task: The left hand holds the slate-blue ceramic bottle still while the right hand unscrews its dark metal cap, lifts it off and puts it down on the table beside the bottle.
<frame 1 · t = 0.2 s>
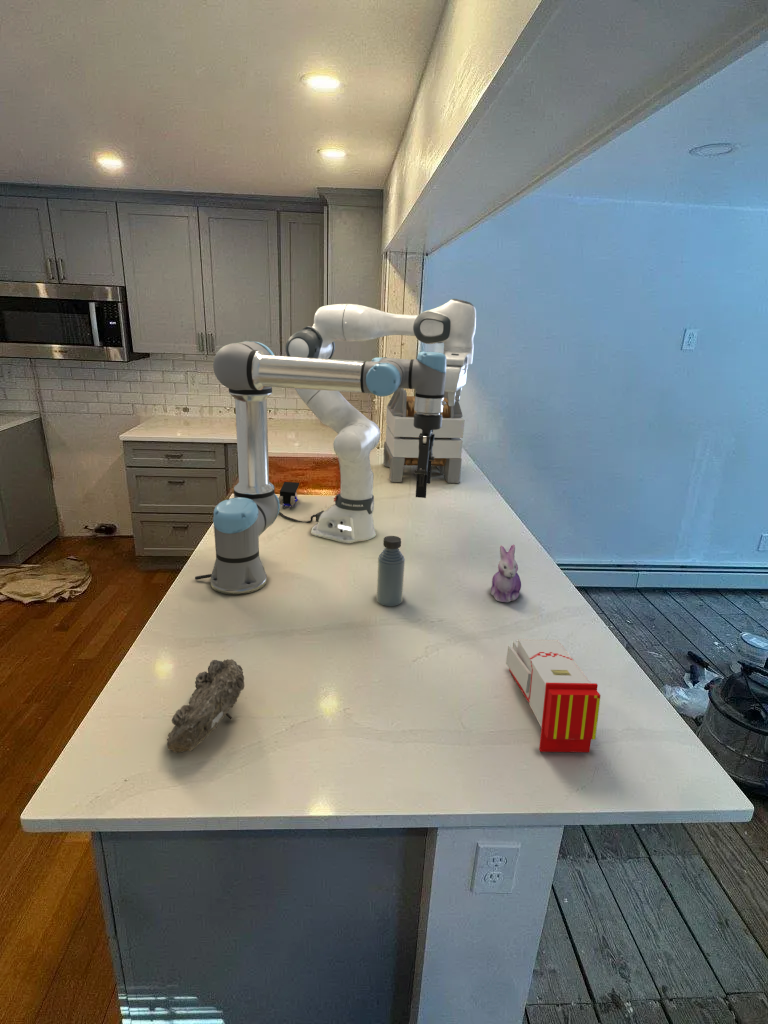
left hand: (423, 489, 157), 28 cm above the counter, tool pointing down, fingers open, 13 cm apart
right hand: (454, 403, 174), 48 cm above the counter, tool pointing down, fingers open, 8 cm apart
cap: (392, 540, 149), point 18 cm above the counter, screwed on, not yet turned
figurine character: (289, 504, 224), on the counter
toy: (542, 703, 116), on the counter
bottle: (389, 599, 155), on the counter
figurine: (505, 595, 160), on the counter
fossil: (212, 717, 108), on the counter
transformer: (419, 473, 275), on the counter
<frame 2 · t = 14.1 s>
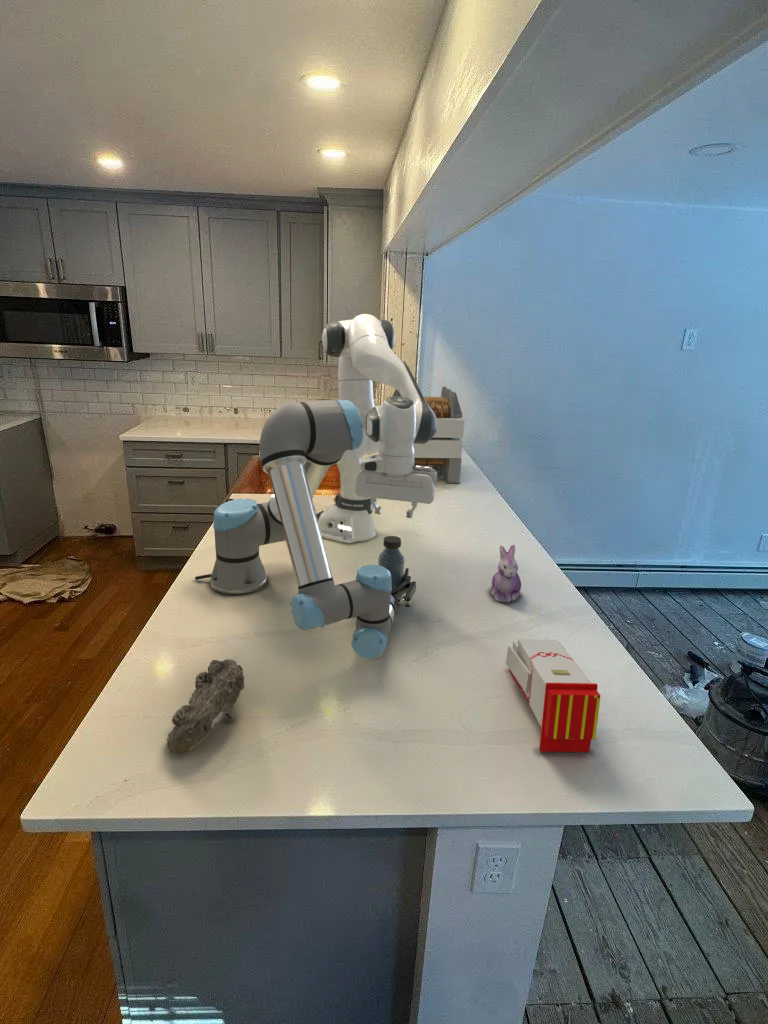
left hand: (392, 571, 157), 6 cm above the counter, tool horizontal, fingers closed on bottle, 7 cm apart
right hand: (393, 515, 146), 24 cm above the counter, tool pointing down, fingers open, 7 cm apart
bottle: (389, 599, 155), on the counter, touching left hand
everything else where it was.
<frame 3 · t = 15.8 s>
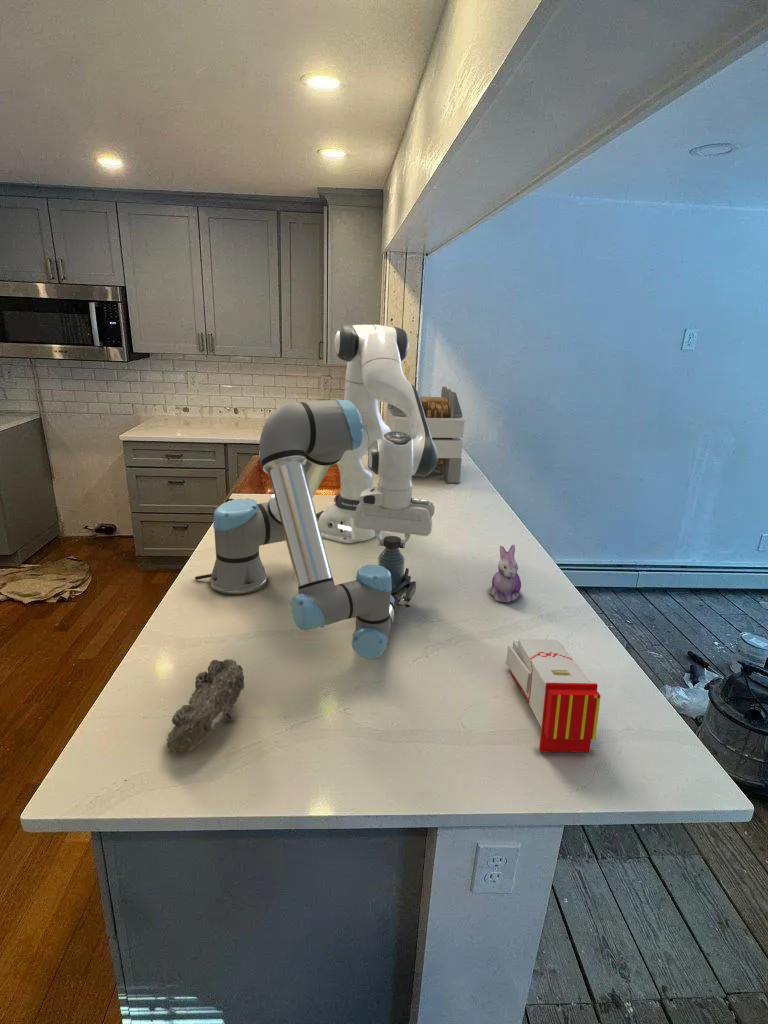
left hand: (392, 571, 157), 6 cm above the counter, tool horizontal, fingers closed on bottle, 7 cm apart
right hand: (392, 546, 149), 16 cm above the counter, tool pointing down, fingers closed on cap, 4 cm apart
cap: (392, 540, 149), point 18 cm above the counter, screwed on, not yet turned, touching right hand
bottle: (389, 599, 155), on the counter, touching left hand
everything else where it was.
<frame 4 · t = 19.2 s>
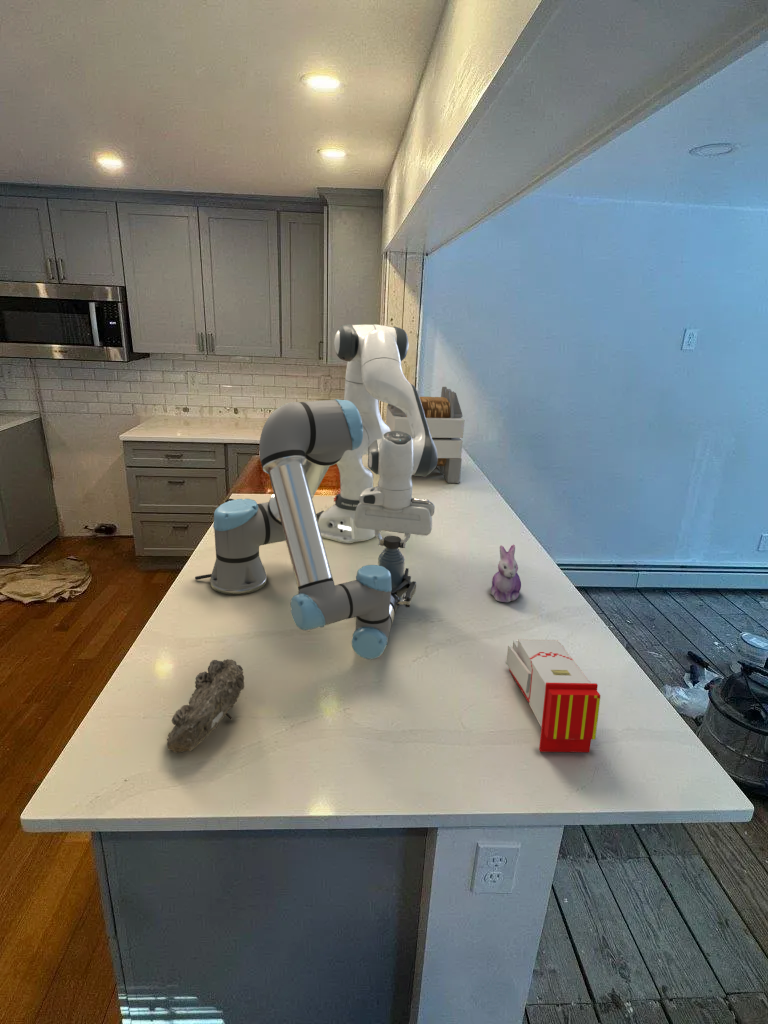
left hand: (392, 571, 157), 6 cm above the counter, tool horizontal, fingers closed on bottle, 7 cm apart
right hand: (391, 546, 149), 16 cm above the counter, tool pointing down, fingers closed on cap, 4 cm apart
cap: (392, 539, 149), point 18 cm above the counter, turned 83° so far, risen 0.1 cm, still on its thread, touching right hand
bottle: (389, 599, 155), on the counter, touching left hand
everything else where it was.
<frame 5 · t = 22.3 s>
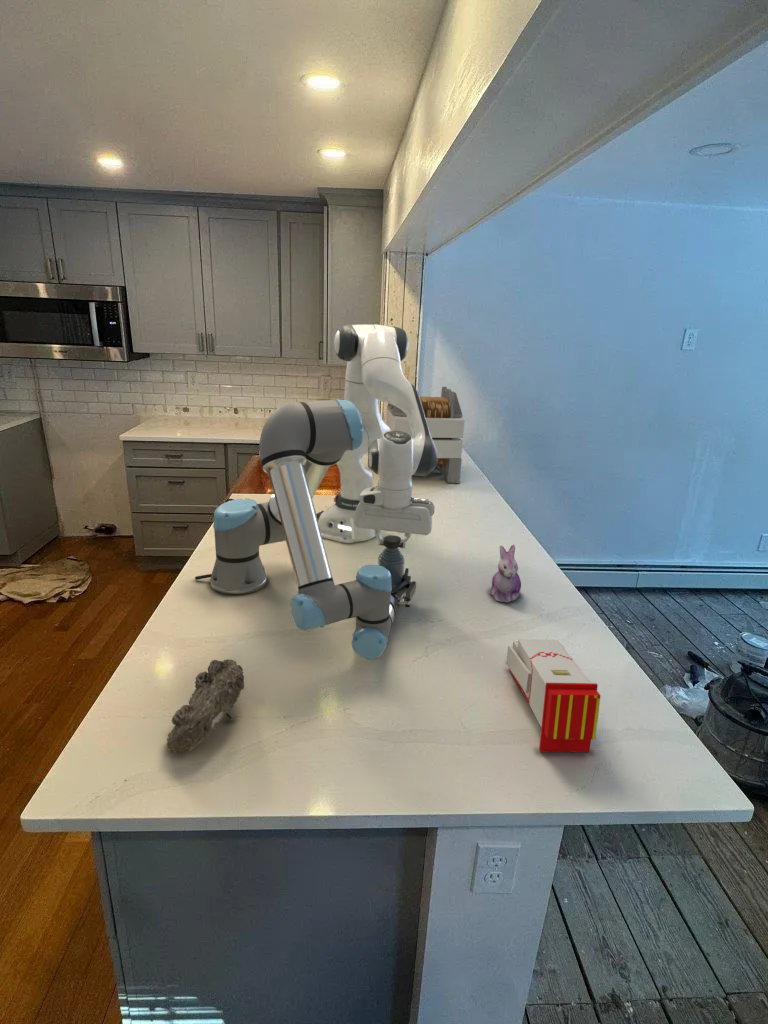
left hand: (392, 571, 157), 6 cm above the counter, tool horizontal, fingers closed on bottle, 7 cm apart
right hand: (391, 545, 149), 16 cm above the counter, tool pointing down, fingers closed on cap, 4 cm apart
cap: (392, 539, 149), point 18 cm above the counter, turned 166° so far, risen 0.1 cm, still on its thread, touching right hand
bottle: (389, 599, 155), on the counter, touching left hand
everything else where it was.
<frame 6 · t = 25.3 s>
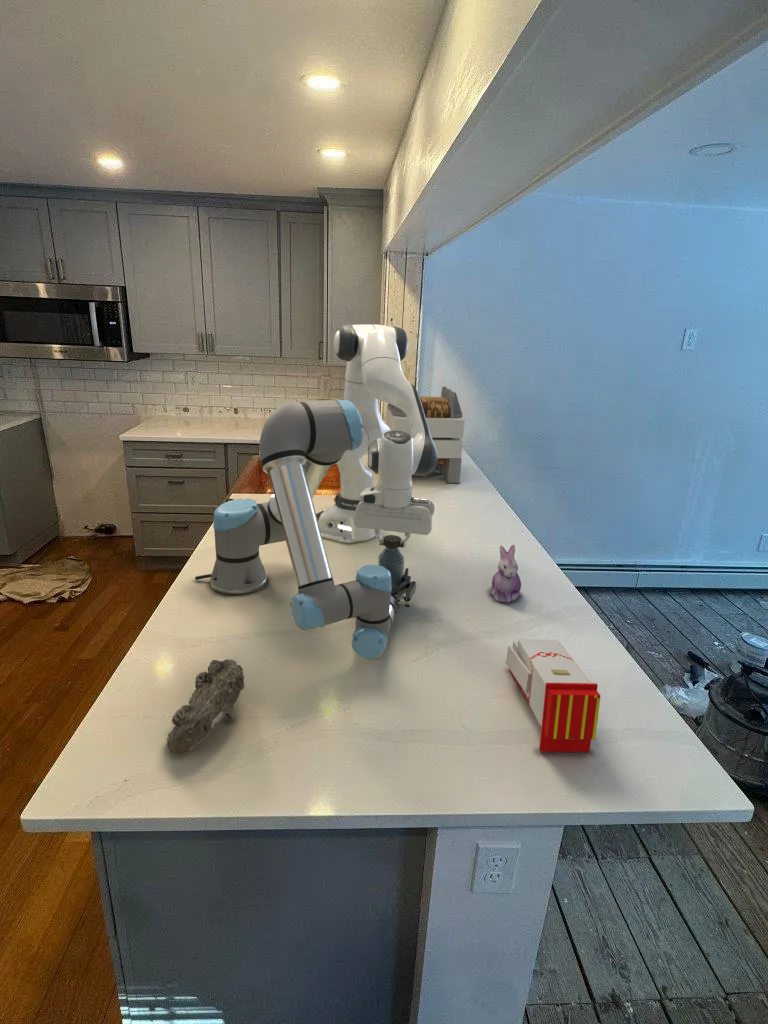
left hand: (392, 571, 157), 6 cm above the counter, tool horizontal, fingers closed on bottle, 7 cm apart
right hand: (391, 545, 149), 16 cm above the counter, tool pointing down, fingers closed on cap, 4 cm apart
cap: (392, 539, 148), point 18 cm above the counter, turned 248° so far, risen 0.2 cm, still on its thread, touching right hand
bottle: (389, 599, 155), on the counter, touching left hand
everything else where it was.
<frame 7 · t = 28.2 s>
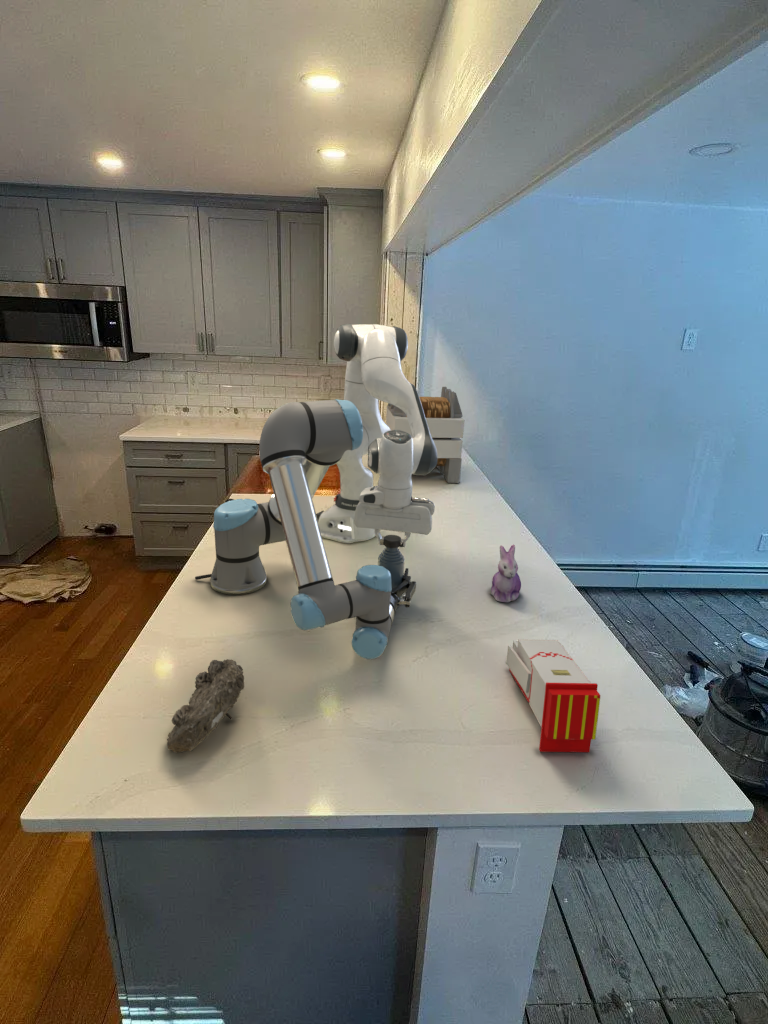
left hand: (392, 571, 157), 6 cm above the counter, tool horizontal, fingers closed on bottle, 7 cm apart
right hand: (391, 545, 149), 16 cm above the counter, tool pointing down, fingers closed on cap, 4 cm apart
cap: (392, 539, 148), point 18 cm above the counter, turned 331° so far, risen 0.3 cm, still on its thread, touching right hand
bottle: (389, 599, 155), on the counter, touching left hand
everything else where it was.
when the right hand's fingers open (2 cm above the counter, at t = 35.9 s): cap drops 2 cm, point 2 cm above the counter.
when the left hand's fingers open (6 cm above the counter, at t = 37.0 s): bottle stays where it is, on the counter.
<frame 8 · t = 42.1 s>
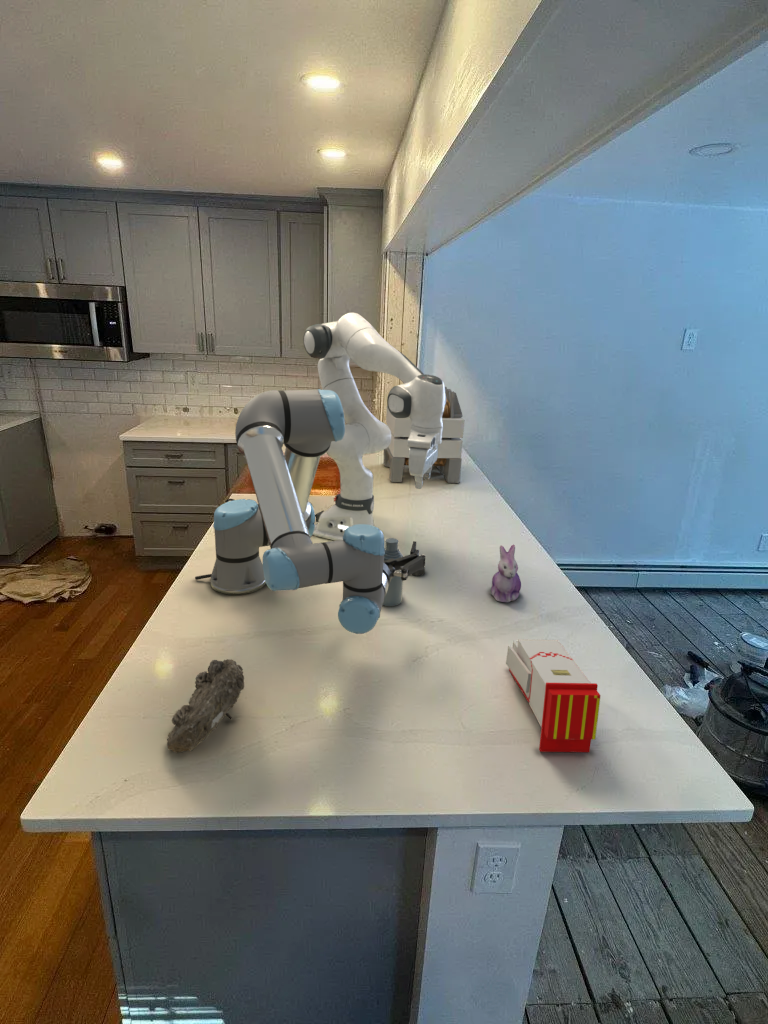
left hand: (386, 543, 138), 21 cm above the counter, tool horizontal, fingers open, 13 cm apart
right hand: (422, 483, 161), 28 cm above the counter, tool pointing down, fingers open, 8 cm apart
cap: (417, 567, 171), point 2 cm above the counter, off its thread
bottle: (388, 599, 155), on the counter
everything else where it was.
at the end: cap came off its thread; cap point 1.6 cm above the counter; the left hand is holding nothing; the right hand is holding nothing; bottle tilted 0°; bottle moved 0.1 cm from its start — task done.
